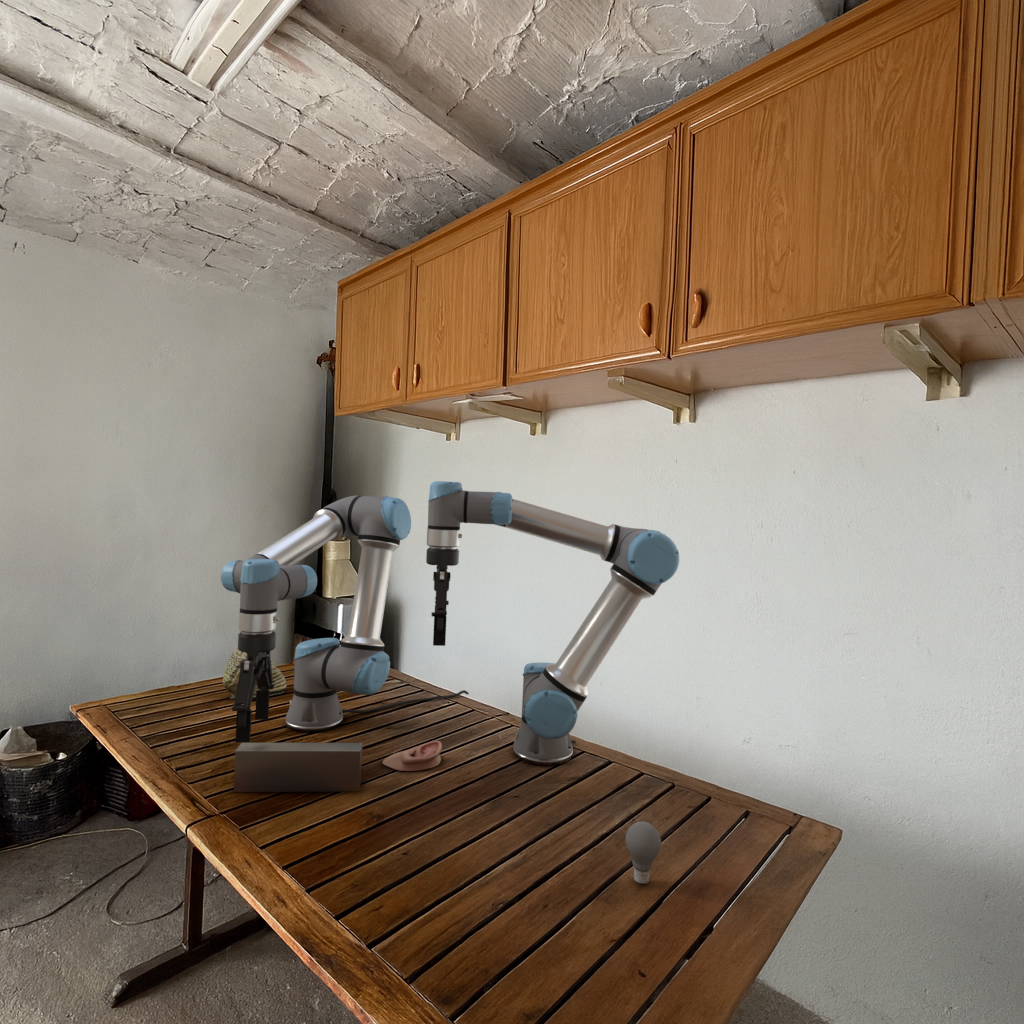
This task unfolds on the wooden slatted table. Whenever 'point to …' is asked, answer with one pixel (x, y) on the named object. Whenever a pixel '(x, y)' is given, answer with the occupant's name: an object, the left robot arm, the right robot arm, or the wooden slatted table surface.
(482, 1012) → the wooden slatted table surface
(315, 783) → the bar
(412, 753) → the anatomical model
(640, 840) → the light bulb
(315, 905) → the wooden slatted table surface
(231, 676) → the fossil
